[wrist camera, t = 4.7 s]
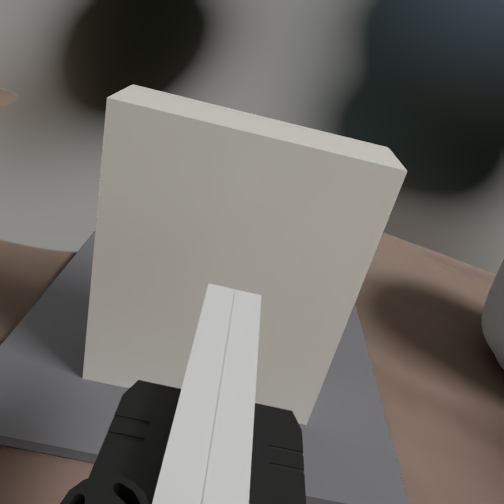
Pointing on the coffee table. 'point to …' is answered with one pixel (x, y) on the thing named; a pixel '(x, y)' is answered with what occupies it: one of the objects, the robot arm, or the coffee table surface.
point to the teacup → (495, 317)
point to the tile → (229, 239)
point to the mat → (108, 396)
